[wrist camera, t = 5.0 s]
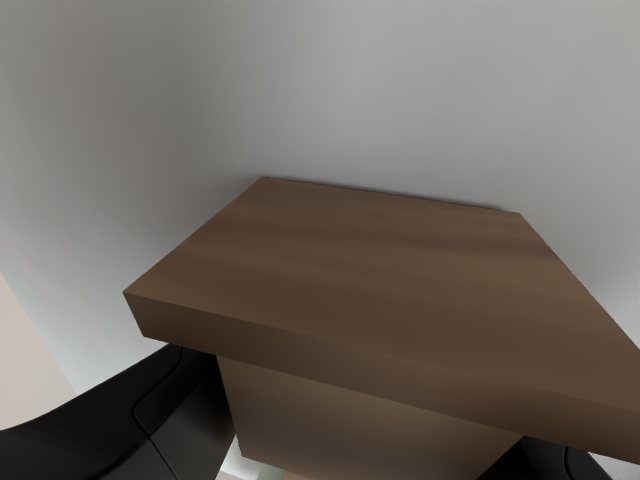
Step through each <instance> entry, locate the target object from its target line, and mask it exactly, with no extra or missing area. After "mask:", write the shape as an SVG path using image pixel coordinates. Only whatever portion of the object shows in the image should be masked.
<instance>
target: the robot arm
mask: <svg viewBox="0 0 640 480" xmlns="http://www.w3.org/2000/svg"><path fill="white" fill-rule="evenodd" d="M235 435H236V431H235V427H234V423H233V419H232V415H231V412H230V408H229V404H228V400H227V396H226V392H225V388H224V384H223V380H222V376H221V372H220V368H219V365H218V361H217V357H216V355H213V354H209V353H205V352H201V351H197V350H194V349H190V348H186V347H182V346H178V345H174V344H170V343H169V344H167V345H165V346H164V347H162V348H161V349H159V350H158V351H156V352H154V353H153V354H151V355H150V356H148V357H146V358H145V359H143V360H141V361H139V362H138V363H136V364H134V365H133V366H131V367H129V368H127V369H126V370H124V371H122V372H120V373H119V374H117V375H115V376H113V377H111V378H110V379H108V380H106V381H104V382H102V383H101V384H99V385H97V386H95V387H93V388H92V389H90V390H88V391H86V392H84V393H83V394H81V395H79V396H77V397H76V398H74V399H72V400H70V401H68V402H67V403H65V404H63V405H61V406H59V407H58V408H56V409H54V410H52V411H50V412H48V413H46V414H44V415H41V416H39V417H37V418H35V419H33V420H30V421H27V422H25V423H22V424H20V425H17V426H14V427H11V428H8V429H4V430H0V480H215V478H216V476H217V474H218V472H219V470H220V468H221V465H222V463H223V461H224V459H225V457H226V454H227V452H228V450H229V448H230V446H231V443H232V441H233V439H234V437H235ZM476 480H613V479H612V478H611V477H610V476H609V475H608V474H607V472H606V471H605V470H604V469H603V468H602V467H601V466H600V465H599V464H598V463H597V461H596V460H595V459H594V458H593V457H592V456H591V455H590V454H589V453H588V452H587V451H584V450H580V449H576V448H572V447H568V446H564V445H560V444H557V443H553V442H549V441H545V440H541V439H537V438H533V437H530V436H526V435H524V436H523V437H522V438H521V439H520V440H519V441H517V442H516V443H515V444H514V445H513V446H512V447H511V448H510V449H509V450H508V451H507V452H505V453H504V454H503V455H502V456H501V457H500V458H499V459H498V460H497V461H496V462H495V463H493V464H492V465H491V466H490V467H489V468H488V469H487V470H486V471H485V472H484V473H483V474H482V475H480V476H479V477H478V478H477V479H476Z"/></svg>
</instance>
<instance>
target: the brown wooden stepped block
mask: <svg viewBox="0 0 640 480" xmlns="http://www.w3.org/2000/svg"><path fill="white" fill-rule="evenodd" d="M123 294H124V296H125V299H126V301H127V303H128V305H129V307H130V309H131V311H132V313H133V315H134V318H135V320H136V322H137V324H138V326H139V328H140V330H141V332H142V335H143V337H147V338H151V339H155V340H159V341H163V342H167V343H170V344H174V345H178V346H182V347H186V348H190V349H194V350H197V351H201V352H205V353H209V354H213V355H216V357H217V361H218V365H219V368H220V372H221V376H222V380H223V384H224V388H225V392H226V396H227V400H228V404H229V408H230V412H231V415H232V419H233V423H234V427H235V431H236V435H237V439H238V443H239V447H240V451H241V455H242V457H245V458H249V459H252V460H255V461H258V462H261V463H264V464H267V465H271V466H274V467H277V468H280V469H283V470H284V476H285V480H476V479H477V478H478V477H479V476H480V475H482V474H483V473H484V472H485V471H486V470H487V469H488V468H489V467H490V466H491V465H492V464H493V463H495V462H496V461H497V460H498V459H499V458H500V457H501V456H502V455H503V454H504V453H505V452H507V451H508V450H509V449H510V448H511V447H512V446H513V445H514V444H515V443H516V442H517V441H519V440H520V439H521V438H522V437H523V436H524V435H526V436H530V437H533V438H537V439H541V440H545V441H549V442H553V443H557V444H560V445H564V446H568V447H572V448H576V449H580V450H584V451H587V452H591V453H595V454H599V455H603V456H607V457H611V458H614V459H618V460H622V461H626V462H630V463H634V464H638V465H640V349H639V348H638V347H637V346H636V345H635V344H634V343H633V341H632V340H631V339H630V338H629V337H628V336H627V335H626V334H625V332H624V331H623V330H622V329H621V328H620V327H619V326H618V324H617V323H616V322H615V321H614V320H613V319H612V318H611V317H610V315H609V314H608V313H607V312H606V311H605V310H604V309H603V307H602V306H601V305H600V304H599V303H598V302H597V301H596V300H595V298H594V297H593V296H592V295H591V294H590V293H589V292H588V290H587V289H586V288H585V287H584V286H583V285H582V284H581V283H580V281H579V280H578V279H577V278H576V277H575V276H574V275H573V273H572V272H571V271H570V270H569V269H568V268H567V267H566V266H565V264H564V263H563V262H562V261H561V260H560V259H559V258H558V256H557V255H556V254H555V253H554V252H553V251H552V250H551V249H550V247H549V246H548V245H547V244H546V243H545V242H544V241H543V239H542V238H541V237H540V236H539V235H538V234H537V233H536V232H535V230H534V229H533V228H532V227H531V226H530V225H529V224H528V222H527V221H526V220H525V219H524V218H523V217H522V216H521V215H520V213H514V212H507V211H500V210H493V209H486V208H479V207H472V206H465V205H458V204H451V203H444V202H437V201H430V200H423V199H416V198H409V197H402V196H395V195H388V194H381V193H374V192H366V191H359V190H352V189H345V188H338V187H331V186H324V185H317V184H310V183H303V182H296V181H289V180H282V179H275V178H268V177H261V178H260V179H259V180H258V181H256V182H255V183H254V184H253V185H251V186H250V187H249V188H248V189H247V190H245V191H244V192H243V193H242V194H241V195H239V196H238V197H237V198H236V199H234V200H233V201H232V202H231V203H230V204H228V205H227V206H226V207H225V208H224V209H222V210H221V211H220V212H219V213H217V214H216V215H215V216H214V217H213V218H211V219H210V220H209V221H208V222H207V223H205V224H204V225H203V226H202V227H200V228H199V229H198V230H197V231H196V232H194V233H193V234H192V235H191V236H190V237H188V238H187V239H186V240H185V241H183V242H182V243H181V244H180V245H179V246H177V247H176V248H175V249H174V250H173V251H171V252H170V253H169V254H168V255H166V256H165V257H164V258H163V259H162V260H160V261H159V262H158V263H157V264H156V265H154V266H153V267H152V268H151V269H150V270H148V271H147V272H146V273H145V274H143V275H142V276H141V277H140V278H139V279H137V280H136V281H135V282H134V283H133V284H131V285H130V286H129V287H128V288H126V289H125V290H124V291H123Z"/></svg>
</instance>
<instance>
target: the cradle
mask: <svg viewBox="0 0 640 480" xmlns="http://www.w3.org/2000/svg"><path fill="white" fill-rule="evenodd" d="M257 480H285V476H284V470H283V469H280V468H277V467H274V466H271V465H267V464H264V463H262V466H261V469H260V472H259V475H258V478H257Z"/></svg>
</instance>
